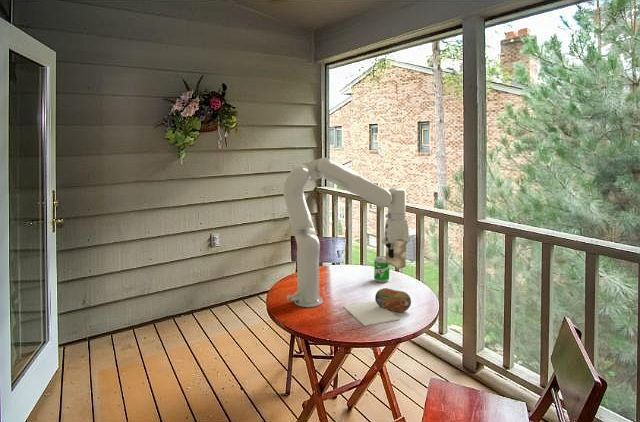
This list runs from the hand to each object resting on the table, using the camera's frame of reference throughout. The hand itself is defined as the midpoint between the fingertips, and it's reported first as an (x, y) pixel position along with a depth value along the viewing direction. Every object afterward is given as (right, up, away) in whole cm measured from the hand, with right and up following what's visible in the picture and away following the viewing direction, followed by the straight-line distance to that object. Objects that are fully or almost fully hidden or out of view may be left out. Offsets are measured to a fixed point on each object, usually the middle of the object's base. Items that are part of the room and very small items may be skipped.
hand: (395, 256), depth 194 cm
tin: (-3, -21, -10) cm, 24 cm away
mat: (-13, -22, -14) cm, 29 cm away
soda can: (-2, -15, +27) cm, 31 cm away
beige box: (0, -4, +1) cm, 4 cm away
